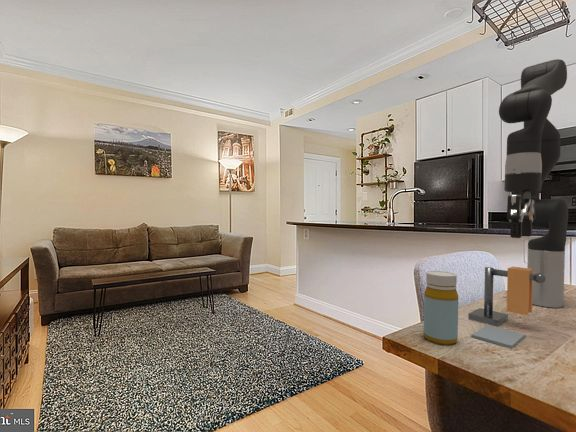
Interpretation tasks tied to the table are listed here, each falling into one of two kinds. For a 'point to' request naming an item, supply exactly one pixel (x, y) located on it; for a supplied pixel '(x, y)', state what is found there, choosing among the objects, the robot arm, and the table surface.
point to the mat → (498, 336)
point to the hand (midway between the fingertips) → (521, 237)
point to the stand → (487, 313)
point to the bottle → (441, 308)
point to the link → (519, 290)
